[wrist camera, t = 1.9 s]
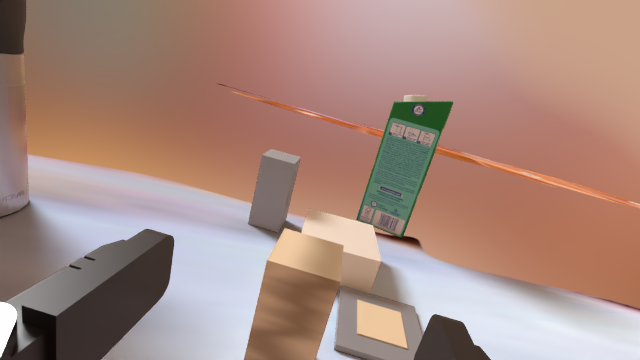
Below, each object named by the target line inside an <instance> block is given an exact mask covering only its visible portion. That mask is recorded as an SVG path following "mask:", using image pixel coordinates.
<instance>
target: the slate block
mask: <svg viewBox="0 0 640 360" xmlns="http://www.w3.org/2000/svg"><path fill="white" fill-rule="evenodd" d="M300 159H301V157H298V156H294V155H291V154H287V153H284V152H280V151H276V150H273V149H271V150H269V151H268V152H266V153H264V154H263V155H262V158H261V163H260V168H259V173H258V178H257V183H256V188H255V192H254V198H253V202H252V207H251V212H250V217H249V222H248V224H250V225H254V226H257V227H261V228H264V229H267V230H271V231H274V232H278V233H279V231H280V229H281V227H282V226H283V224H284V222H285V220H286V217H287V213H288V209H289V205H290V200H291V196H292V192H293V188H294V184H295V180H296V176H297V172H298V168H299V163H300Z"/></svg>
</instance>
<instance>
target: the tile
mask: <svg viewBox="0 0 640 360" xmlns="http://www.w3.org/2000/svg"><path fill="white" fill-rule="evenodd" d="M421 339H422V333H421V329H420V326H419V322H418V318H417V315H416V311H415V307H413V306H410V305H407V304H403V303H400V302H397V301H393V300H390V299H387V298H383V297H380V296H377V295H373V294H370V293H367V292H363V291H360V290H356V289H353V288H350V287H346V286H343V285H341V286H340V291H339V302H338V312H337V323H336V334H335V344H334V349H335V350H338V351H341V352H344V353H348V354H351V355H354V356H357V357H360V358H364V359H367V360H414V356H415V353H416V351H417V348H418V346H419V344H420V341H421Z"/></svg>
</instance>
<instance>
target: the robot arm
mask: <svg viewBox="0 0 640 360" xmlns="http://www.w3.org/2000/svg"><path fill="white" fill-rule="evenodd" d="M25 23H26V0H0V217H1V216H4V215H8V214H11V213H13V212H16V211H18V210H20V209H21V208H23V207H24V206H25V205H27V204H28V201H29V190H28V156H27V130H26V103H25V82H24V54H23V53H24V48H23V39H24V31H25ZM173 249H174V238H173V237H172V236H171V235H167V234H164V233H160V232H157V231H154V230H150V229H145V230H143V231H141V232H140V233H138V234H137V235H135V236H133V237H132V238H130V239H128V240H127V241H126V240H120V241H117V242H113V243H110V244H107V245H104V246H101V247H99V248H98V249H96V250H94V251H92V252H91V253H89V254H87V255H85V257H84V258H80V259H78V260H77V261H75V262H73V263H72V264H70V266H69V267H65V268H63V269H61V270H59V271H58V272H56V273H54V274H52V275H51V276H49V277H47V278H46V279H44V280H42V281H40V282H39V283H37V284H35V285H33V286H32V287H30V288H28V289H26V290H25V291H23V292H21V293H19V294H18V295H16V296H14V297H13V298H11V299H9V300H7V301H6V302H4V303H2V302H0V360H101V359H102V358H103V357H104V356H105V355H106V354H107V353H108V352H109V351H110V350H111V349H112V348H113V347H114V346H115V345H116V344H117V343H118V342H119V341H120V340H121V339H122V337H123V336H124V335H125V334H126V333H127V332H128V331H129V330H130V329H131V328H132V327H133V326H134V325H135V324H136V323H137V322H138V321H139V320H140V319H141V318H142V317H143V316H144V315H145V314H146V313H147V312H148V311H149V310H150V309H151V308H152V307H153V306H154V305H155V304H156V303H157V302H158V301H159V300H160V299H161V297H162V296H163V294H164V293H165V291H166V289H167V286H168V284H169V280H170V273H171V265H172V257H173ZM414 360H491V359H490V358H489V357H488V356H487V355H486V353H485V352H484V351H483V350H482V349H481V348H480V346H476V345H474V343H473V341H472V339H471V337H470V335H469V333H468V331H467V329H466V327H465V325H464V323H463V322H461V321H457V320H454V319H450V318H447V317H444V316H440V315H437V314H434V315H433V316H432V317H431V319H430V321H429V323H428V325H427V328H426V330H425V332H424V335H423V337H422V339H421V341H420V344H419V346H418V348H417V351H416V353H415V356H414Z"/></svg>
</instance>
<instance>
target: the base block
mask: <svg viewBox="0 0 640 360" xmlns="http://www.w3.org/2000/svg"><path fill="white" fill-rule="evenodd" d="M301 233H303V234H306V235H310V236H313V237H317V238H320V239H324V240H327V241H330V242H334V243H337V244H341V245H344V248H343V259H342V269H341V280H340V284H339V286H341V285H343V286H346V287H350V288H353V289H356V290H360V291H363V292H367V293H370V292H371V289H372V286H373V283H374V281H375V278H376V275H377V272H378V270H379V267H380V264H381V258H380V253H379V249H378V245H377V240H376V236H375V231H374V227H373V225H370V224H366V223H362V222H359V221H355V220H351V219H347V218H343V217H340V216H336V215H332V214H328V213H325V212H321V211H317V210H314V209H310V208H308V211H307V215H306V218H305V221H304V225H303V228H302V232H301Z"/></svg>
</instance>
